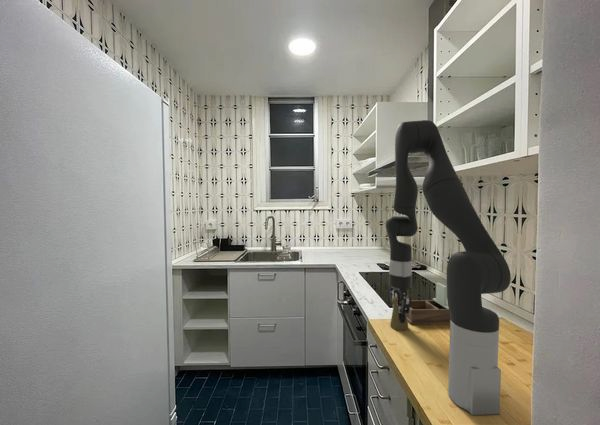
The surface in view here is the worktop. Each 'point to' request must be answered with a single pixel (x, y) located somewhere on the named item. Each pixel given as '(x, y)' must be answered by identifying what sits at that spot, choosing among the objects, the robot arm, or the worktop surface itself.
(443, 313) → the caddy
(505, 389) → the worktop surface
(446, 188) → the robot arm
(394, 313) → the olive rounded piece
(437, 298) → the lid
